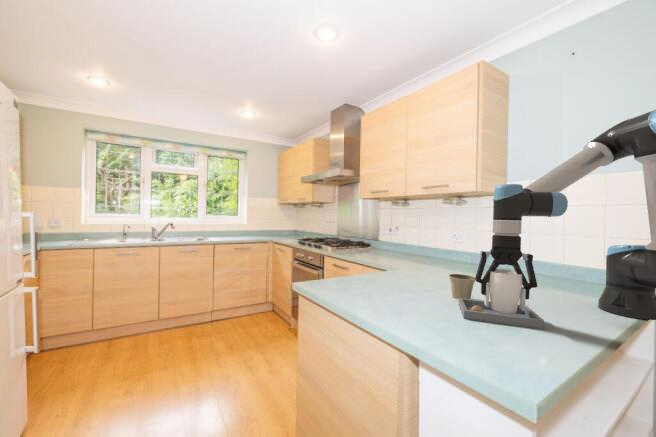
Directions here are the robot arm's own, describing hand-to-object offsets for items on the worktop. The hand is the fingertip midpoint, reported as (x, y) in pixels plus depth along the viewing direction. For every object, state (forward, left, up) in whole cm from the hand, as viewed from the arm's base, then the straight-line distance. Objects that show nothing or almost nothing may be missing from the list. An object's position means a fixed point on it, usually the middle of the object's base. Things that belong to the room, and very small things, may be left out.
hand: (503, 307), depth 87 cm
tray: (+2, +1, -3) cm, 4 cm away
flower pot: (+10, -17, -4) cm, 20 cm away
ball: (+8, +5, -3) cm, 10 cm away
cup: (0, 0, -1) cm, 1 cm away
